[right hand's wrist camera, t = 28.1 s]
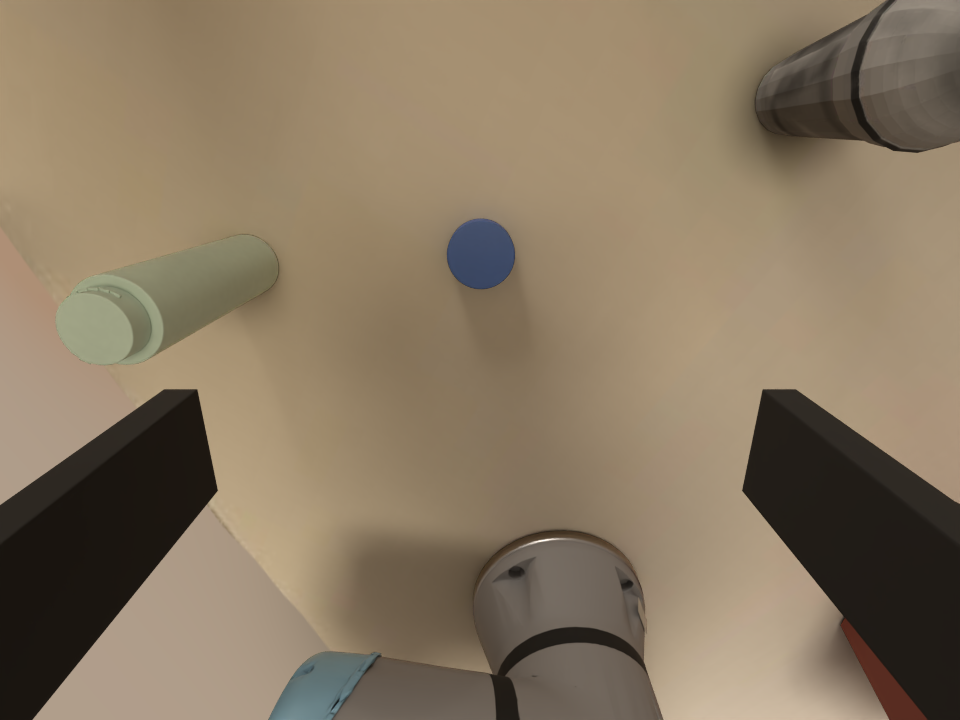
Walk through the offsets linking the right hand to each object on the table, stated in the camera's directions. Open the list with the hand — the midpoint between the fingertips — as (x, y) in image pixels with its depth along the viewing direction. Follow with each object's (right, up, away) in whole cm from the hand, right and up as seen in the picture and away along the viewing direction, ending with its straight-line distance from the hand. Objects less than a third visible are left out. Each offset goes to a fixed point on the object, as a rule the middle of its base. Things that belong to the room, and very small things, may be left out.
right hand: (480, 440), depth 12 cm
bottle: (-17, +9, +25) cm, 32 cm away
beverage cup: (+20, +19, +22) cm, 35 cm away
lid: (0, +9, +24) cm, 26 cm away
